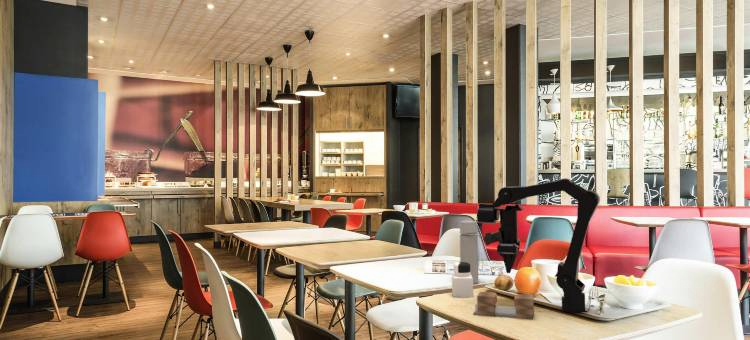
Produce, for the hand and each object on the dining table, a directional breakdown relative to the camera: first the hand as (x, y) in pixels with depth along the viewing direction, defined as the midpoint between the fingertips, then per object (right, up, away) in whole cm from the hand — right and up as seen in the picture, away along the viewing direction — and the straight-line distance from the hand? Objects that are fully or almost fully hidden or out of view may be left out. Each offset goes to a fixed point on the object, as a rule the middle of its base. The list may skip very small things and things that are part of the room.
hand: (509, 270), depth 172 cm
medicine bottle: (-13, -13, +16) cm, 24 cm away
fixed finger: (+1, -11, -15) cm, 19 cm away
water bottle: (-6, -13, +37) cm, 40 cm away
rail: (-5, -12, -13) cm, 18 cm away
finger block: (-10, -11, -11) cm, 19 cm away
